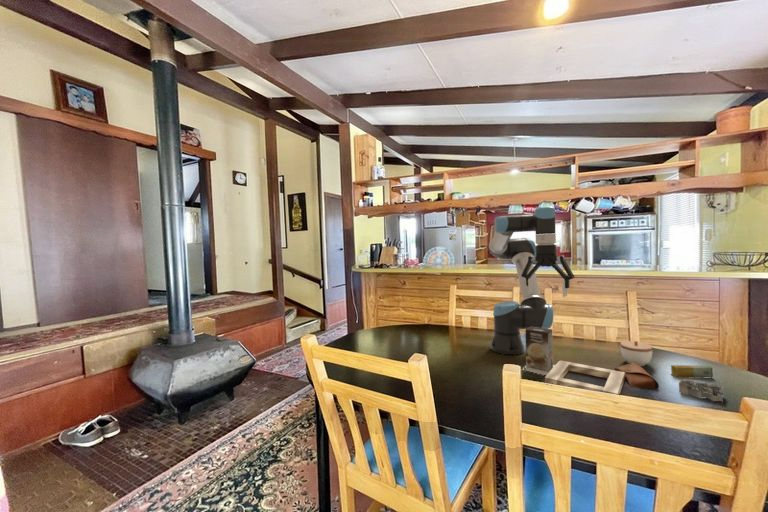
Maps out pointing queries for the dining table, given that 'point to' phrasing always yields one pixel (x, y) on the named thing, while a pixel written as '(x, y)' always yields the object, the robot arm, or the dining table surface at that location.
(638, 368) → the sunglasses case
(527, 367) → the spiral notepad
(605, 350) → the dining table surface
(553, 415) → the dining table surface
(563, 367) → the board
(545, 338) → the coffee box
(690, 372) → the medication box
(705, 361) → the dining table surface
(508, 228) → the robot arm
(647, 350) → the lidded jar
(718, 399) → the grey flat lump
